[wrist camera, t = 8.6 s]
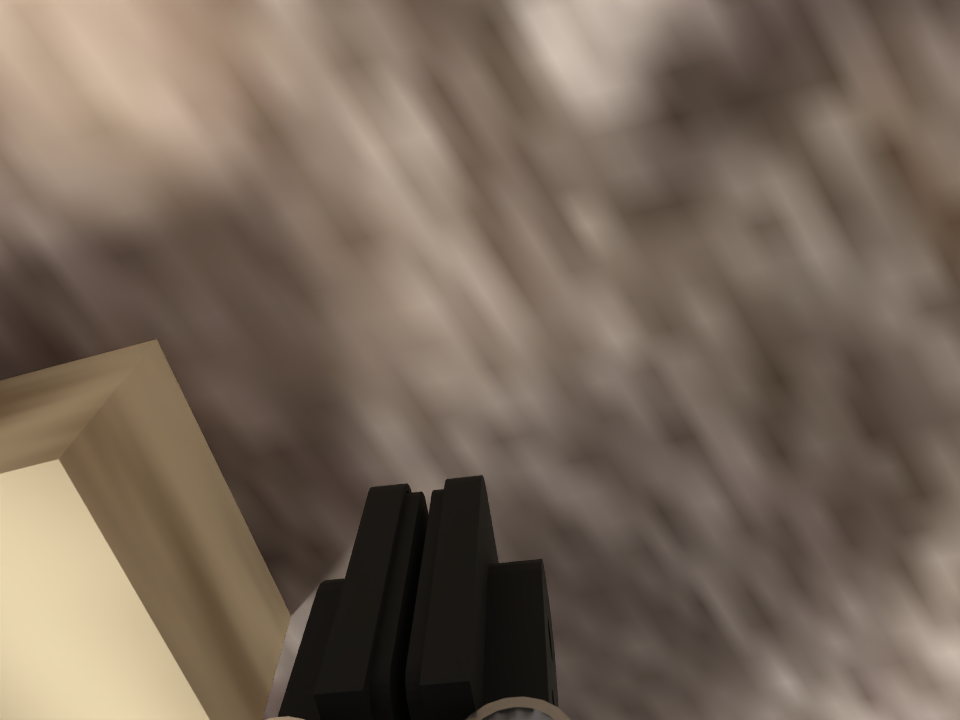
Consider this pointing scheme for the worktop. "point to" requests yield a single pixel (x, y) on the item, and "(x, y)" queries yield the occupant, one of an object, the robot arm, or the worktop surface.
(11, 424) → the maple block
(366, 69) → the worktop surface
